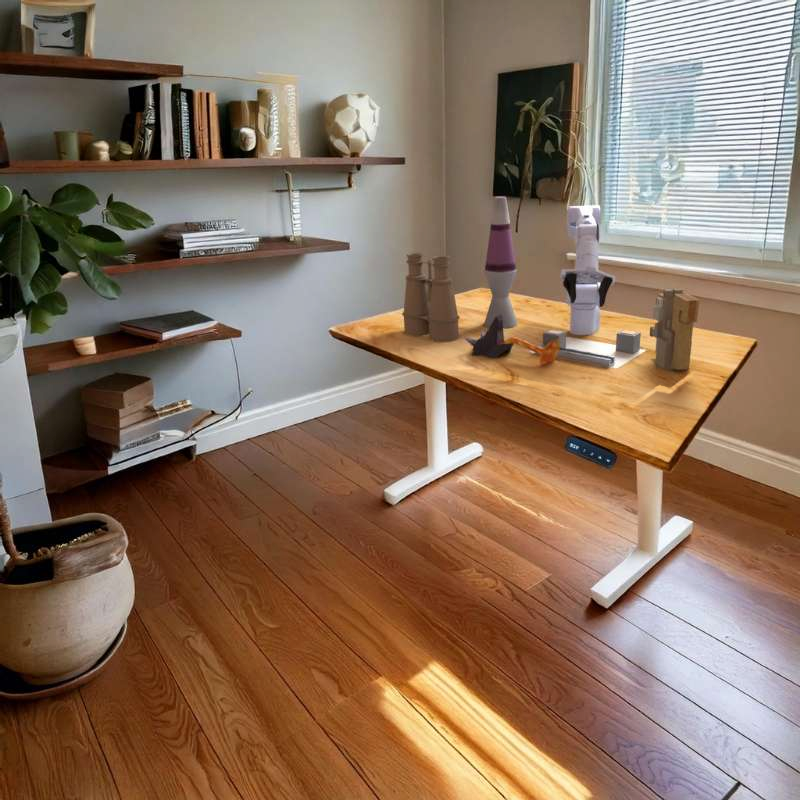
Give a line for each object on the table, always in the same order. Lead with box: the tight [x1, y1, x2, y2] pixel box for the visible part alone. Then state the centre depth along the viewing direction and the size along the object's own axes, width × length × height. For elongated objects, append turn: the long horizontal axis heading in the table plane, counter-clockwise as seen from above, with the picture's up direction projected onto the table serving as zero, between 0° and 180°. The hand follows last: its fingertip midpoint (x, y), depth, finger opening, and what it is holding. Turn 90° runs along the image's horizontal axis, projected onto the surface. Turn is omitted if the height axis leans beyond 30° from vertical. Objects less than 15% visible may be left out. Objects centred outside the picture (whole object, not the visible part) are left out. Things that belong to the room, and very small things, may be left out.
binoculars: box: [401, 252, 460, 343], centre depth 212 cm, size 21×10×25 cm, turn 46°
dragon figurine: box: [464, 314, 560, 367], centre depth 187 cm, size 10×12×25 cm
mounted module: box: [542, 329, 567, 348], centre depth 191 cm, size 4×5×5 cm
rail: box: [534, 343, 615, 368], centre depth 184 cm, size 3×22×2 cm, turn 48°
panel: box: [529, 336, 647, 370], centre depth 190 cm, size 18×26×1 cm
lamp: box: [483, 196, 518, 329], centre depth 216 cm, size 11×11×40 cm
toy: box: [649, 288, 700, 371], centre depth 172 cm, size 6×17×20 cm, turn 2°
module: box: [615, 329, 642, 354], centre depth 187 cm, size 4×5×5 cm
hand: (587, 302), depth 182 cm, fingers open, 7 cm apart
